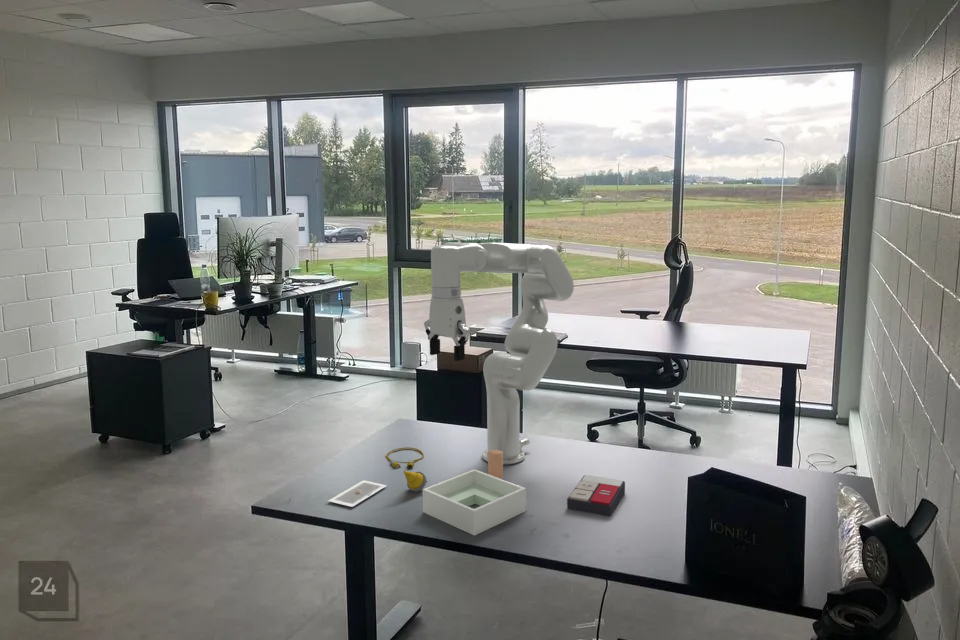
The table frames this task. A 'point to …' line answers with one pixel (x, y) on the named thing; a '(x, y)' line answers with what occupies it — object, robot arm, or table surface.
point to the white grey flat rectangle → (357, 493)
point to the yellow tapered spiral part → (415, 480)
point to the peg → (495, 463)
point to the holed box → (474, 501)
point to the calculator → (596, 495)
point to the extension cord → (410, 463)
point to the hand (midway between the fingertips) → (447, 357)
